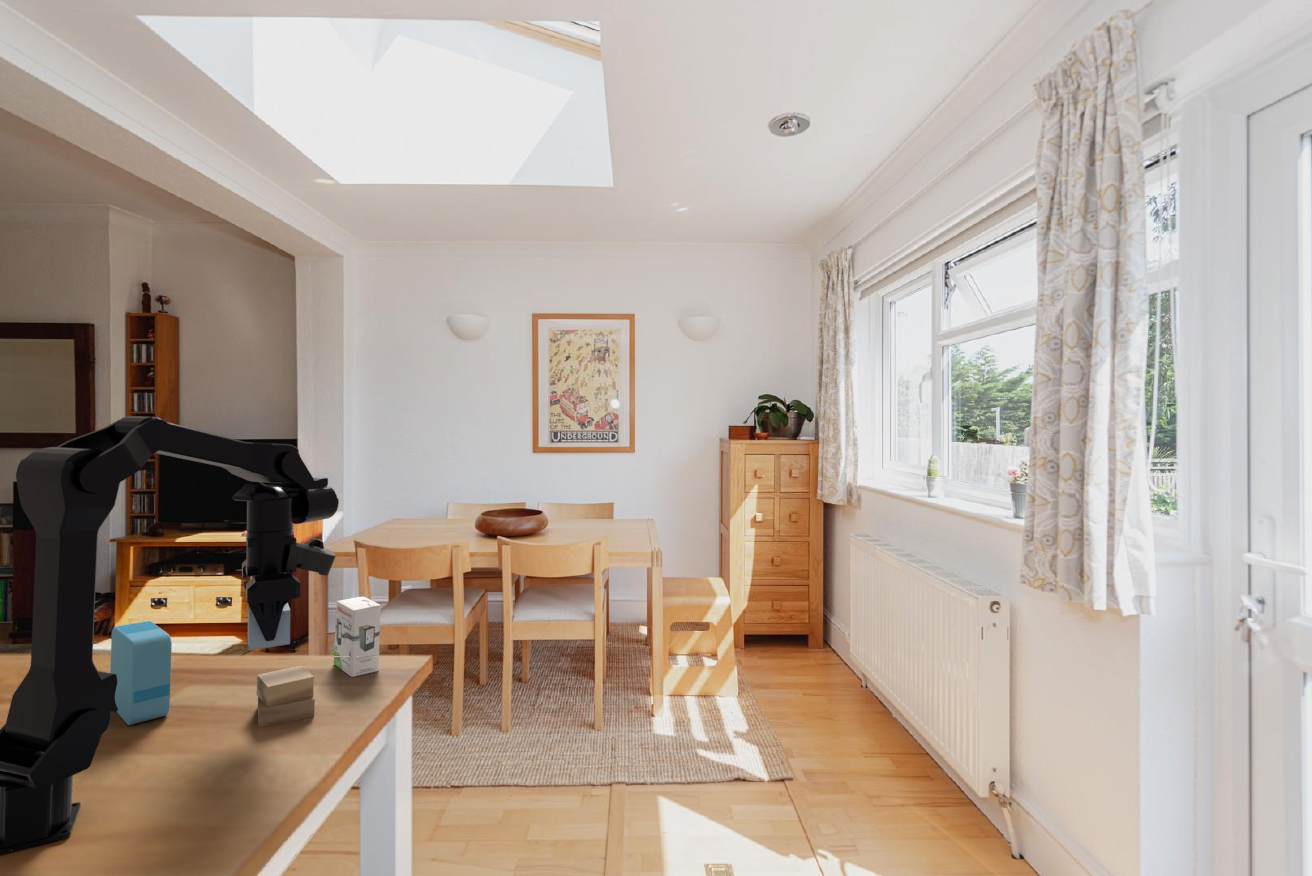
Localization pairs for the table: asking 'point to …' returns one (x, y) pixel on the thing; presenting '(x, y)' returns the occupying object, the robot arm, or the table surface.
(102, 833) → the table surface
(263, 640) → the blue cube
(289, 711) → the lower slab
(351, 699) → the table surface
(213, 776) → the table surface
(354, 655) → the ink box
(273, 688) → the upper slab
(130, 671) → the data package
